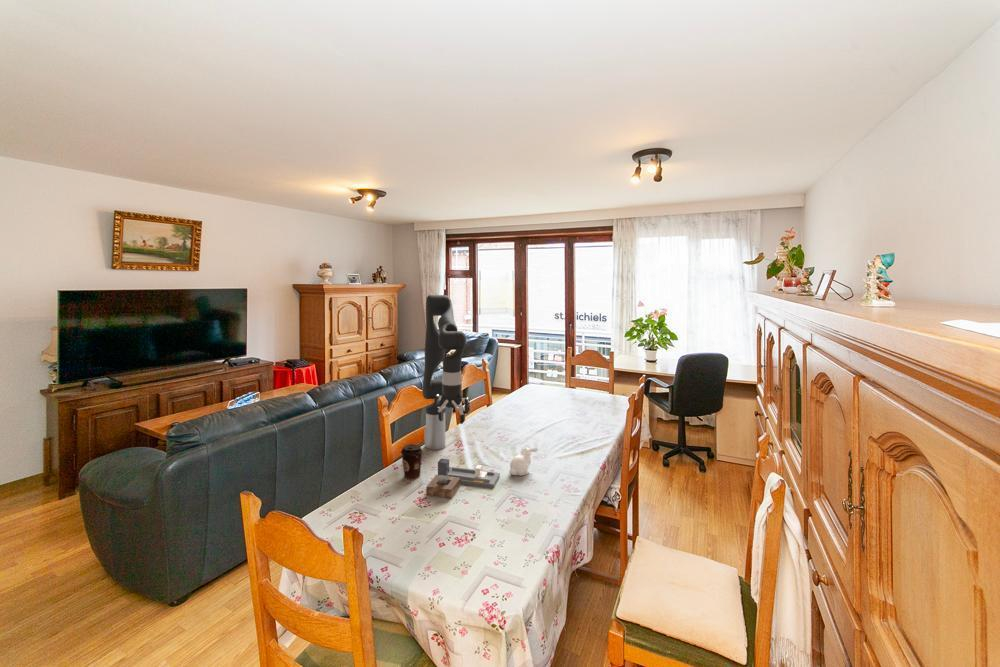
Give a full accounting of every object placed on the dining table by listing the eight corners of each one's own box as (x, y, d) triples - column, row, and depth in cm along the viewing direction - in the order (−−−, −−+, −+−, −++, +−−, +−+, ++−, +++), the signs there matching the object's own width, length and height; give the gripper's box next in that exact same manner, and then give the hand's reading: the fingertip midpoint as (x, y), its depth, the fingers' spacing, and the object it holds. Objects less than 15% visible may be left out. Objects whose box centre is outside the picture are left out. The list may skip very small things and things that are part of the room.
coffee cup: (403, 483, 172) (402, 452, 170) (399, 474, 179) (398, 444, 177) (424, 479, 175) (424, 449, 173) (420, 471, 183) (419, 441, 181)
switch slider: (474, 478, 172) (474, 469, 171) (478, 473, 177) (478, 463, 176) (484, 479, 171) (484, 470, 171) (487, 474, 176) (487, 465, 175)
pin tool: (437, 492, 164) (437, 462, 162) (441, 487, 167) (440, 458, 166) (446, 493, 163) (446, 463, 162) (449, 488, 167) (449, 459, 165)
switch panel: (440, 482, 173) (440, 475, 173) (449, 471, 183) (449, 464, 182) (493, 489, 168) (493, 481, 167) (499, 477, 177) (499, 470, 177)
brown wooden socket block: (426, 496, 162) (426, 486, 161) (436, 484, 171) (436, 474, 171) (451, 499, 159) (451, 489, 159) (460, 487, 169) (460, 477, 168)
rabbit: (522, 465, 190) (523, 439, 188) (539, 472, 183) (540, 445, 182) (504, 474, 181) (504, 447, 179) (521, 481, 174) (521, 453, 173)
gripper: (431, 382, 165) (431, 423, 168) (466, 386, 162) (465, 427, 164) (438, 378, 172) (438, 416, 175) (472, 381, 169) (471, 420, 171)
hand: (451, 421), depth 169 cm, fingers open, 8 cm apart
